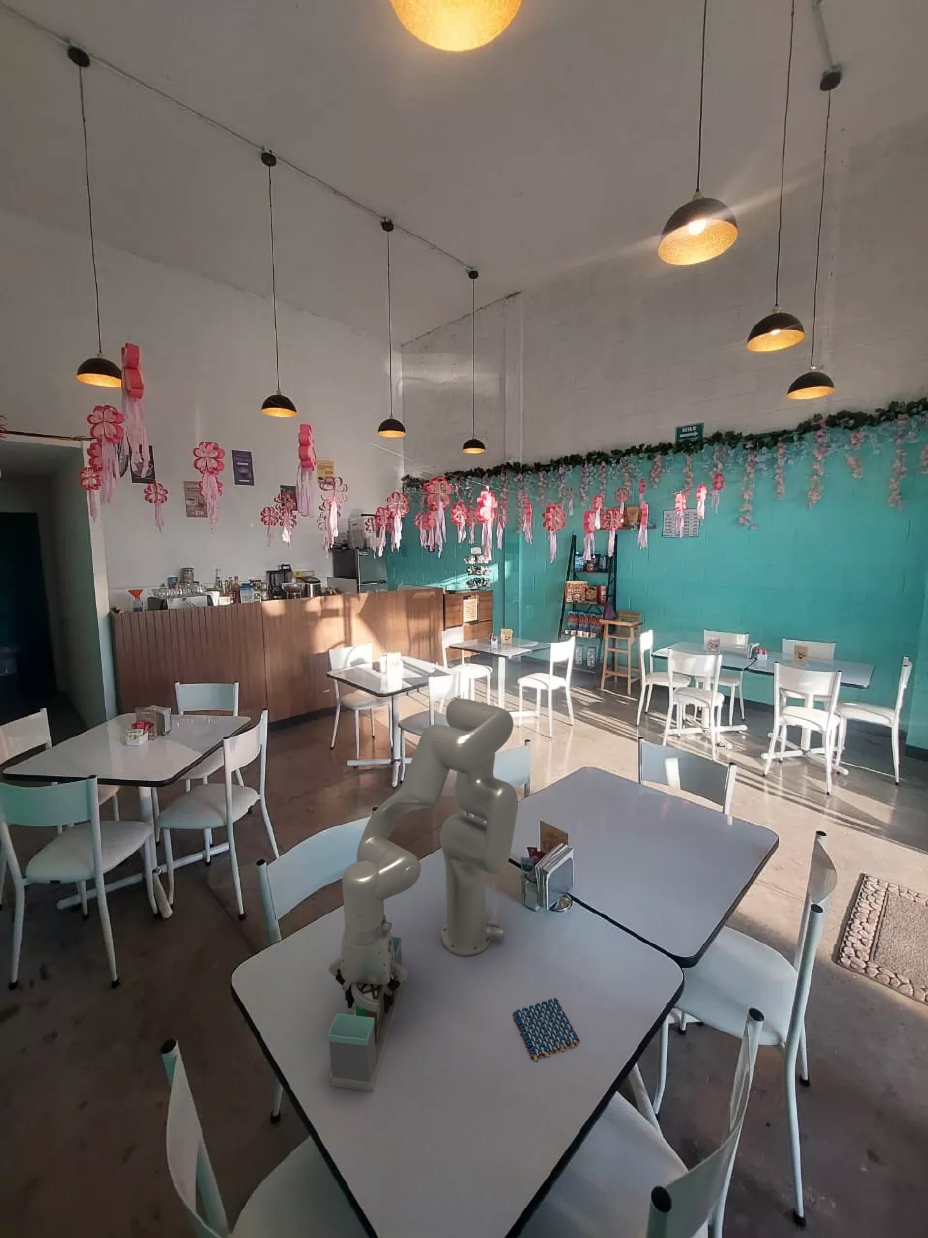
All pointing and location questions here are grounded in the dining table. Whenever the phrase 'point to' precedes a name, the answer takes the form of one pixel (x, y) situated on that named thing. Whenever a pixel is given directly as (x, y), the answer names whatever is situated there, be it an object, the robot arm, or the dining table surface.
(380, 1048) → the rail
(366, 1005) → the food container
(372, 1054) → the mounted module
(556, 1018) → the woven mat
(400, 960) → the block
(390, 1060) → the dining table surface
